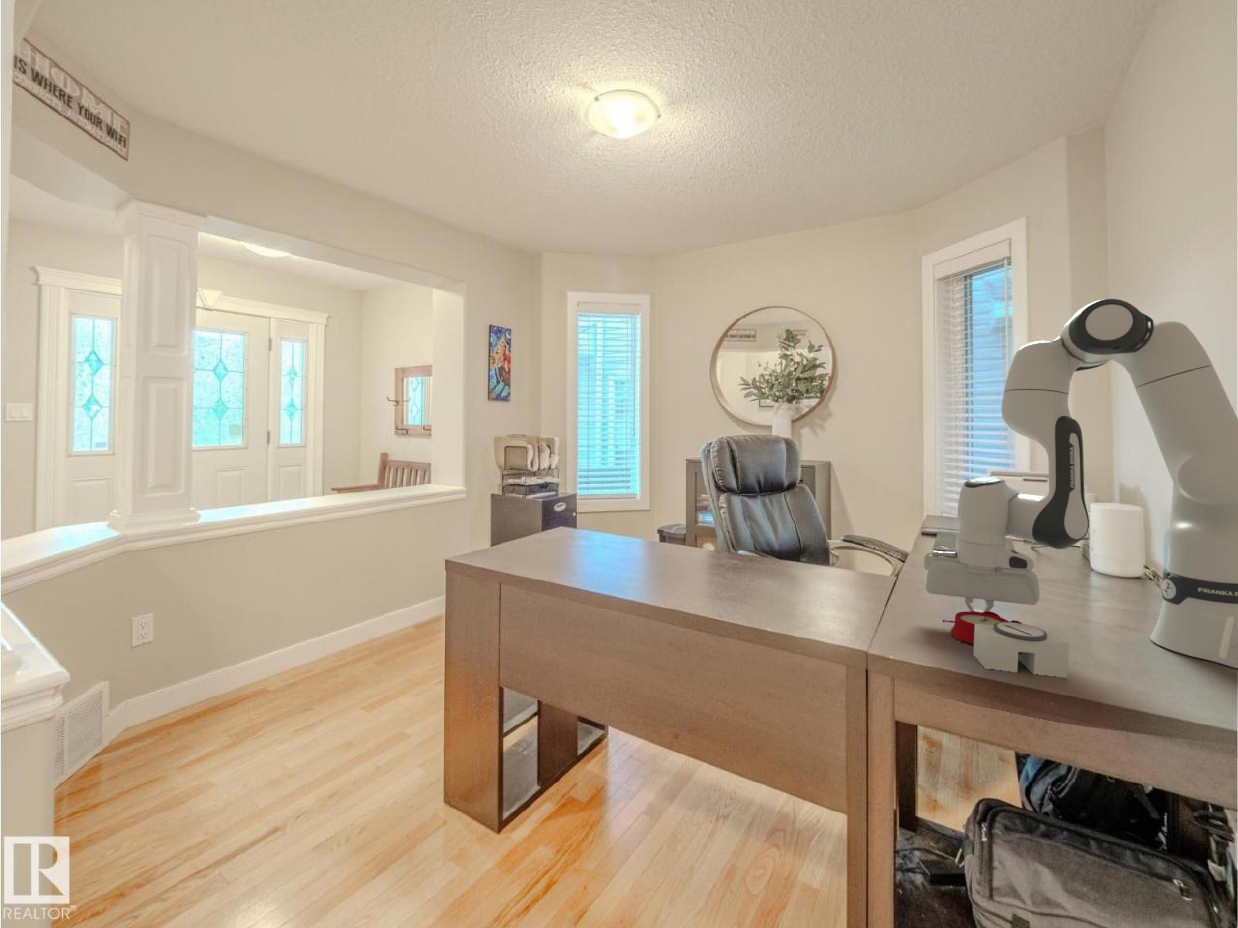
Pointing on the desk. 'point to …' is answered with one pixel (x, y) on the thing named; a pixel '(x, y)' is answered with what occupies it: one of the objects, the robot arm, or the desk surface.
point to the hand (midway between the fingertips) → (977, 618)
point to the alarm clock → (973, 624)
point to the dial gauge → (1021, 648)
